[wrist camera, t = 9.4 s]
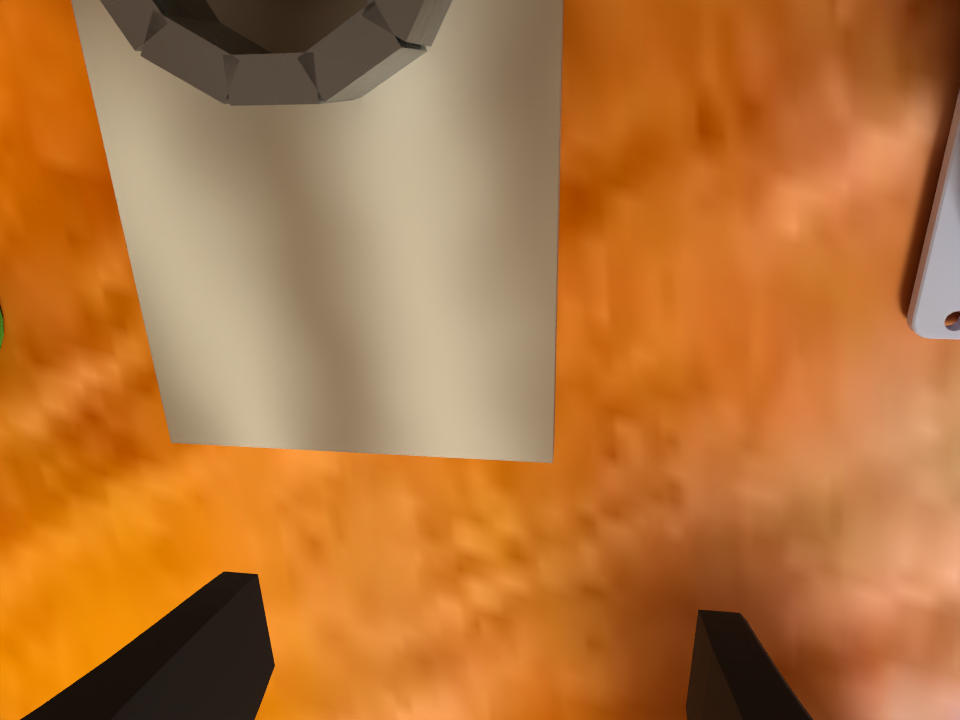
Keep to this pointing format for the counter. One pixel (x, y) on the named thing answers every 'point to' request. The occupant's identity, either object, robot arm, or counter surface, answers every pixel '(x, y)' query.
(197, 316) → the peg holder
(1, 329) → the cup
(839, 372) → the counter surface
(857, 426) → the counter surface
